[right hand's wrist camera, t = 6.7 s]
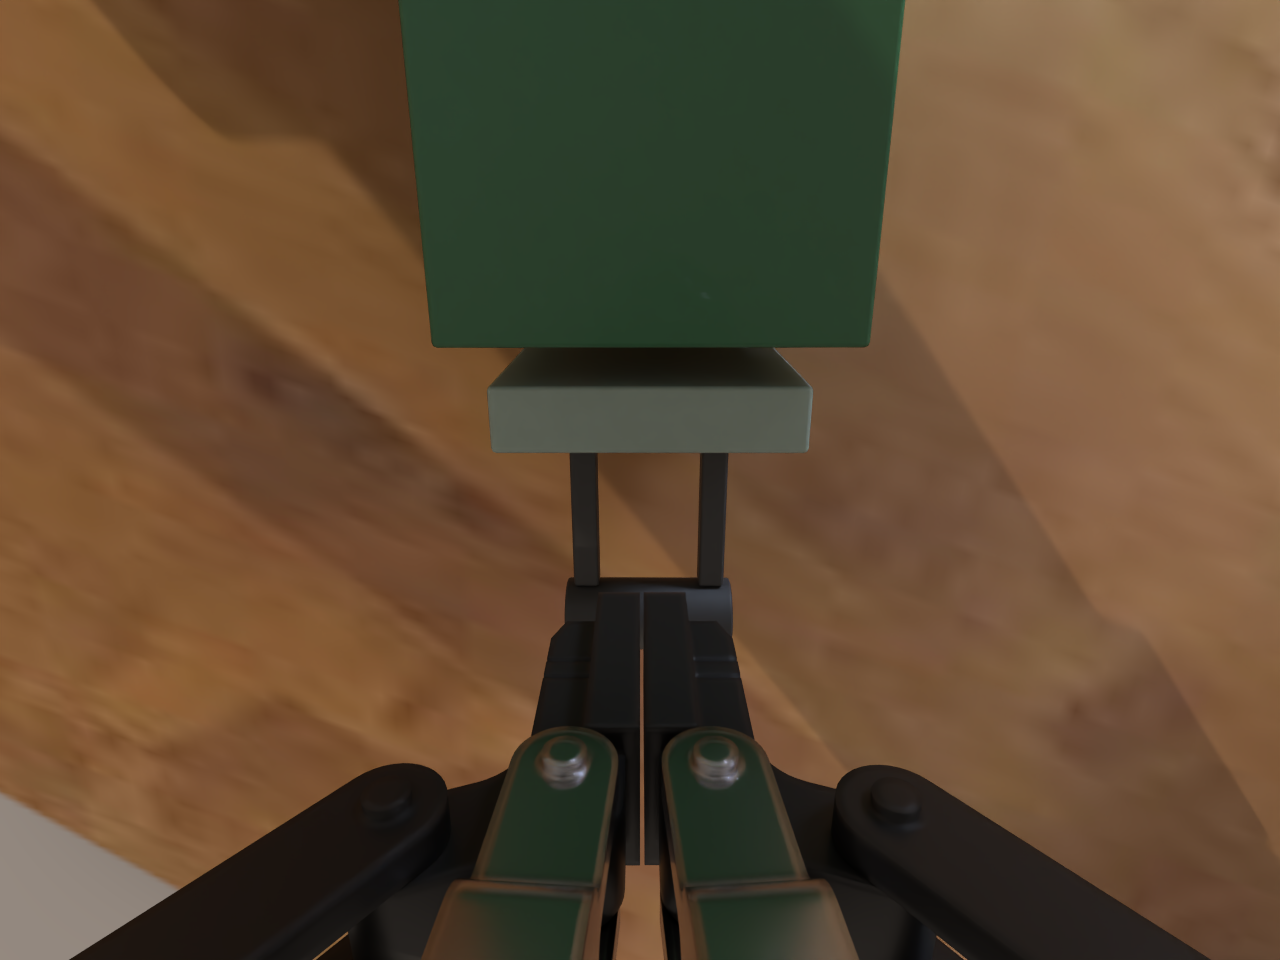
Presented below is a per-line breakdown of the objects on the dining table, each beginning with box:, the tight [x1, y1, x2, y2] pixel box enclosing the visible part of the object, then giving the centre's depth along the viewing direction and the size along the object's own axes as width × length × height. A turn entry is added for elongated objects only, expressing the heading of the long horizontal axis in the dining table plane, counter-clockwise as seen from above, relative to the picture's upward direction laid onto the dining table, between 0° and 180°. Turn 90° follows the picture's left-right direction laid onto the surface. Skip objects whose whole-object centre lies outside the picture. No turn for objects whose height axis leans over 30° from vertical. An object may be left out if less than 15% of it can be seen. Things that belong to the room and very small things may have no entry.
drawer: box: [487, 348, 813, 649], centre depth 14 cm, size 26×6×7 cm, turn 0°
